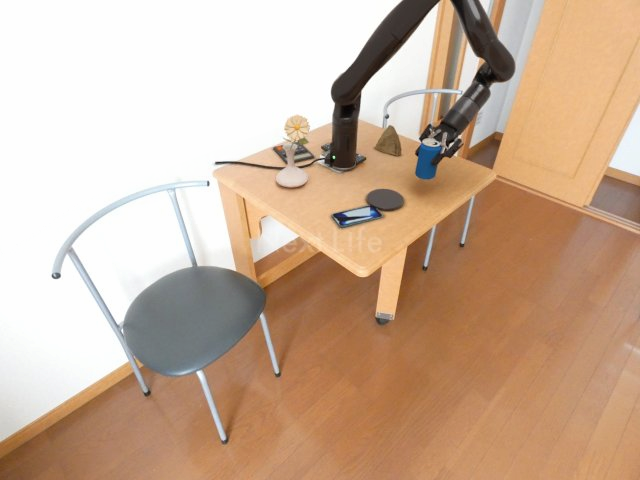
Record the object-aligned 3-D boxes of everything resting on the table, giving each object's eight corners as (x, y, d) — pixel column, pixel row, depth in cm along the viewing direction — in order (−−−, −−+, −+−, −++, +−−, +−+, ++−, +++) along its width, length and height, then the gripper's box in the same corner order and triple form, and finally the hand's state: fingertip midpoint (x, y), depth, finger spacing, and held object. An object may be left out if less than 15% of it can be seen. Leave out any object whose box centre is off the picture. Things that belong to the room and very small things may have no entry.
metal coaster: (362, 207, 120) (363, 204, 120) (371, 188, 129) (371, 186, 128) (399, 214, 117) (400, 211, 117) (405, 194, 126) (406, 192, 125)
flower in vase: (270, 187, 130) (263, 117, 114) (284, 172, 138) (279, 105, 122) (305, 194, 127) (302, 123, 111) (316, 178, 135) (316, 110, 119)
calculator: (299, 141, 156) (314, 155, 146) (299, 143, 157) (314, 157, 147) (273, 146, 152) (286, 162, 142) (273, 148, 153) (287, 164, 143)
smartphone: (384, 216, 116) (340, 227, 111) (383, 218, 116) (340, 229, 112) (372, 204, 121) (330, 213, 116) (372, 206, 122) (330, 216, 117)
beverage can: (435, 182, 118) (443, 147, 110) (414, 180, 119) (420, 145, 111) (434, 172, 123) (442, 138, 115) (414, 170, 124) (420, 136, 116)
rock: (409, 150, 147) (400, 136, 153) (400, 136, 141) (391, 122, 147) (386, 166, 150) (378, 152, 156) (376, 153, 144) (368, 139, 151)
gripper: (438, 101, 115) (403, 145, 118) (474, 117, 106) (436, 164, 109) (447, 115, 121) (413, 156, 124) (482, 130, 111) (445, 175, 114)
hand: (424, 160), depth 116 cm, fingers closed on beverage can, 6 cm apart
